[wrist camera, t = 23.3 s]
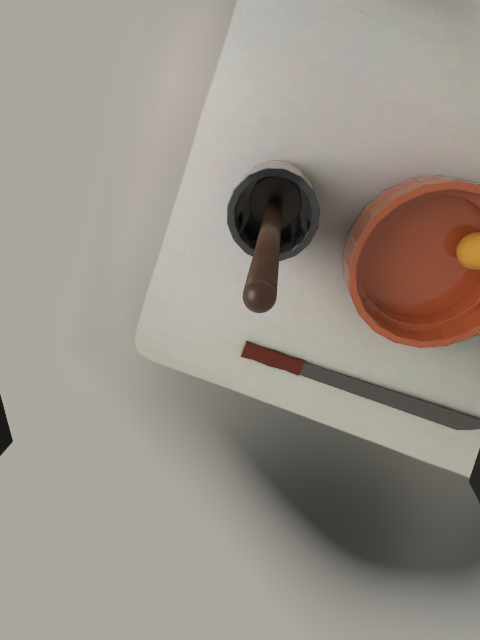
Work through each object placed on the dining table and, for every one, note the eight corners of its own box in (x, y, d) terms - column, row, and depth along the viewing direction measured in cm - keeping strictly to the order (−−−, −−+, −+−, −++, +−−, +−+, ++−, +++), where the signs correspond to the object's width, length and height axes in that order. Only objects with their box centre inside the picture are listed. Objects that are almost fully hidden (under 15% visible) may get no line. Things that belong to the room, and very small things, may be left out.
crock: (223, 198, 48) (208, 214, 39) (278, 143, 45) (276, 147, 36) (272, 251, 50) (269, 278, 41) (328, 201, 47) (338, 219, 38)
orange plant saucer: (311, 250, 49) (314, 265, 44) (444, 137, 43) (466, 139, 38) (401, 350, 54) (413, 374, 48) (533, 260, 47) (565, 277, 42)
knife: (482, 436, 57) (484, 439, 57) (240, 356, 56) (240, 358, 56) (493, 421, 56) (495, 424, 56) (246, 339, 55) (246, 342, 55)
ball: (508, 236, 44) (473, 219, 45) (508, 256, 42) (472, 237, 42) (481, 262, 47) (449, 246, 48) (481, 283, 45) (446, 265, 45)
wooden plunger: (240, 193, 47) (174, 285, 19) (283, 162, 45) (276, 216, 17) (268, 234, 48) (243, 374, 21) (310, 207, 46) (343, 320, 19)
